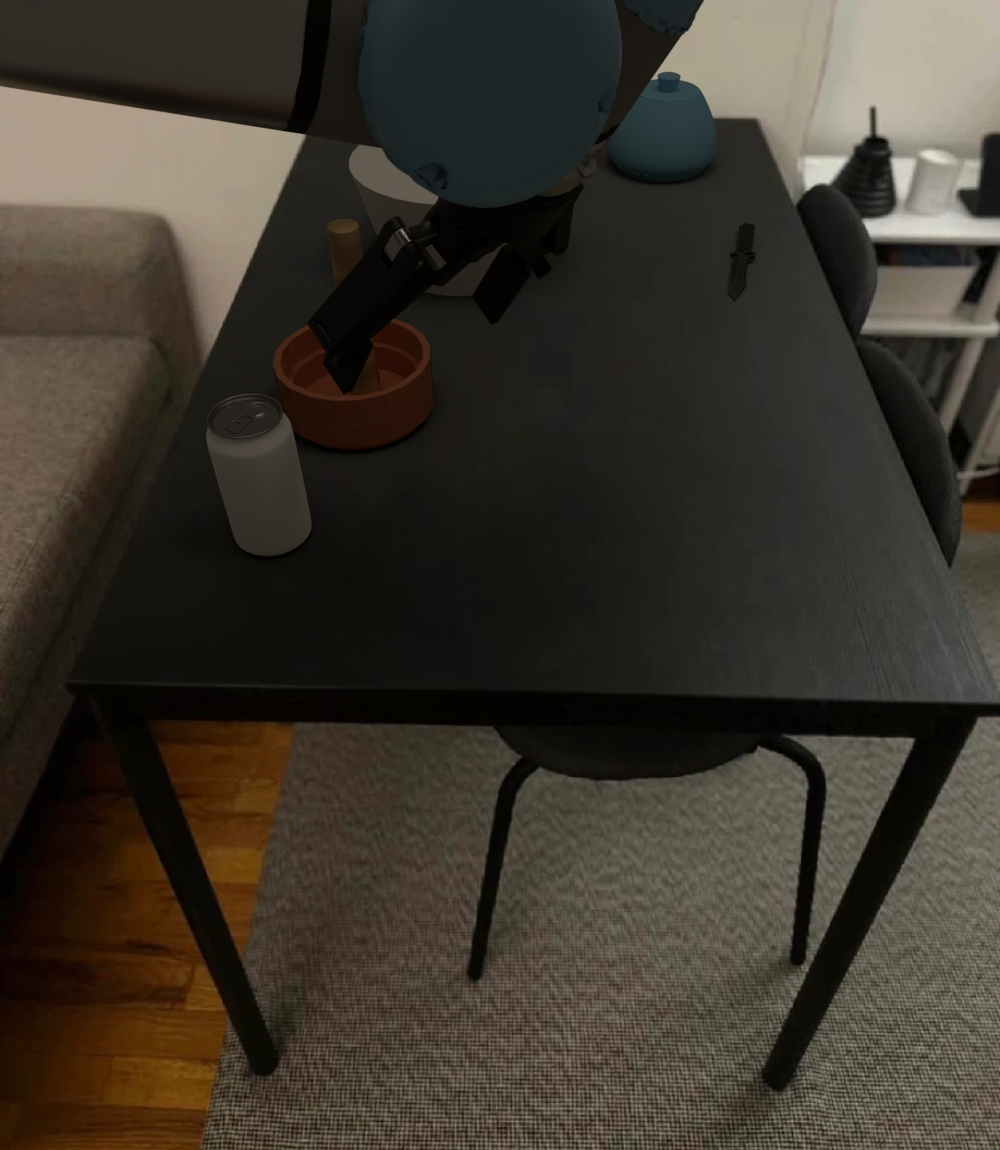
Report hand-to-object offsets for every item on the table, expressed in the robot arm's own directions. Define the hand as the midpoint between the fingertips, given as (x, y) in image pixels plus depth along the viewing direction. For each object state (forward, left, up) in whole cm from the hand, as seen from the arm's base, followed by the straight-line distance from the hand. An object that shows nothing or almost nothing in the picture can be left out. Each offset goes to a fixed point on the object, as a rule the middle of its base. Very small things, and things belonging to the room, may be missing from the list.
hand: (414, 341), depth 69 cm
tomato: (-15, +10, -14) cm, 23 cm away
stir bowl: (-14, +8, -16) cm, 23 cm away
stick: (-13, +8, -15) cm, 22 cm away
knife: (+5, +55, -16) cm, 58 cm away
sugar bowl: (-16, +76, -16) cm, 79 cm away
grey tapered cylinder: (-23, +38, -16) cm, 48 cm away
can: (-9, -10, -16) cm, 21 cm away
